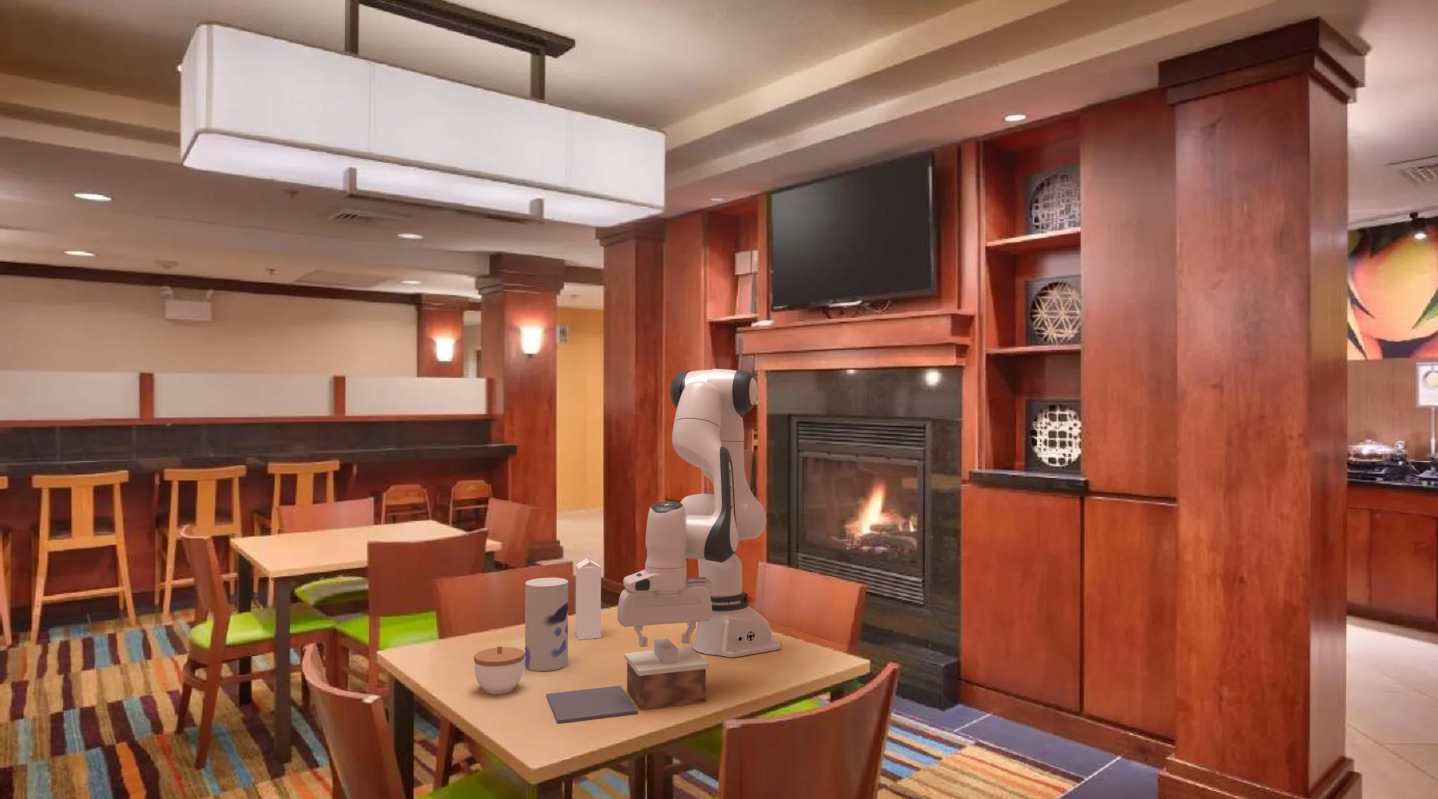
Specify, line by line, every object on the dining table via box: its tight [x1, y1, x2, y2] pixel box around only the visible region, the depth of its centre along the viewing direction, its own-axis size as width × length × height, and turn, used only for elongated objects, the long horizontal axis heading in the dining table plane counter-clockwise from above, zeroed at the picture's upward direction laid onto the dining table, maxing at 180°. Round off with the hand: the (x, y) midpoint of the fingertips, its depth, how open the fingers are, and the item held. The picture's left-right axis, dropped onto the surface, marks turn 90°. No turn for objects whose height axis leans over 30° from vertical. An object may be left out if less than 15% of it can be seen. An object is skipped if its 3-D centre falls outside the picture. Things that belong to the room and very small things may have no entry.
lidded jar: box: [473, 645, 525, 695], centre depth 180 cm, size 11×11×9 cm
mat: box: [546, 685, 639, 724], centre depth 171 cm, size 16×16×1 cm
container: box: [524, 577, 569, 672], centre depth 198 cm, size 10×10×20 cm
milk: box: [575, 552, 602, 641], centre depth 223 cm, size 6×6×22 cm
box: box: [626, 661, 707, 710], centre depth 176 cm, size 14×12×7 cm
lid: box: [623, 638, 710, 676], centre depth 176 cm, size 15×13×5 cm
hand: (664, 644), depth 176 cm, fingers open, 8 cm apart
